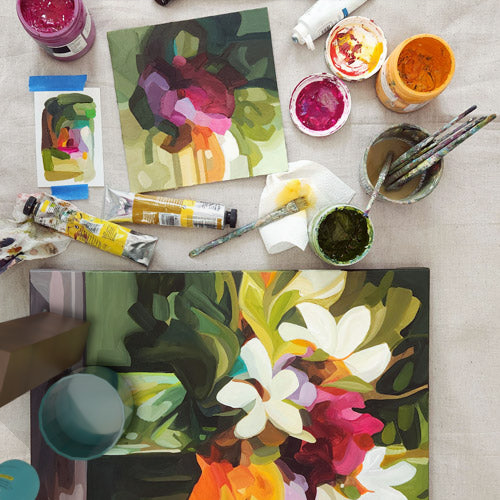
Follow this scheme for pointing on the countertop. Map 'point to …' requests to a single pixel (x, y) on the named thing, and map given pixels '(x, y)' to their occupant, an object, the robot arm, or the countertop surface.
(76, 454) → the bowl
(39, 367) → the pedestal
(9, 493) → the tube
